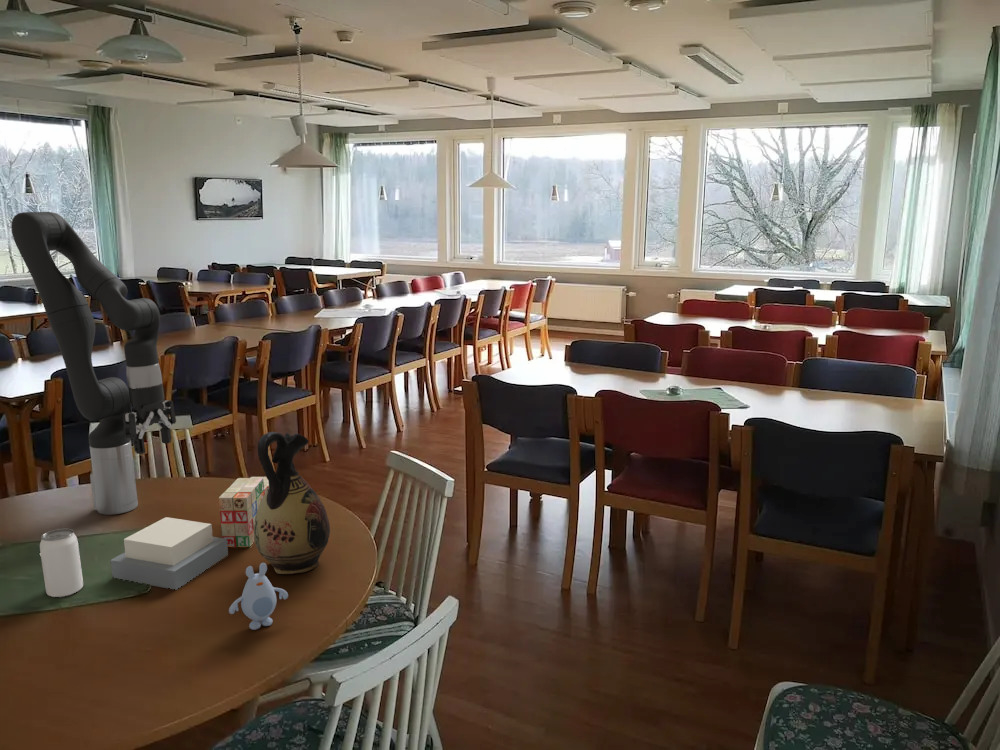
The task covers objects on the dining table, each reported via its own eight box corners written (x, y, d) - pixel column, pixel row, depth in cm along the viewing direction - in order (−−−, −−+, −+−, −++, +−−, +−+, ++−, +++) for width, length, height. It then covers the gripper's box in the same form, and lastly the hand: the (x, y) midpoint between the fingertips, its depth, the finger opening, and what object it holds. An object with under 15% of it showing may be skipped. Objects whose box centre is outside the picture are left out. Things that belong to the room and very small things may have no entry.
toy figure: (235, 642, 134) (230, 579, 132) (226, 626, 139) (221, 565, 137) (295, 624, 140) (291, 563, 137) (284, 609, 145) (280, 551, 142)
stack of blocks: (254, 511, 192) (250, 464, 190) (279, 511, 192) (275, 464, 189) (222, 548, 171) (218, 496, 169) (250, 548, 171) (246, 496, 169)
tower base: (112, 578, 158) (108, 541, 156) (168, 545, 172) (165, 512, 171) (176, 590, 153) (172, 552, 151) (228, 555, 167) (225, 521, 166)
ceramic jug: (294, 543, 173) (285, 415, 167) (346, 558, 166) (339, 425, 159) (234, 574, 159) (222, 435, 153) (288, 592, 152) (279, 447, 145)
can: (88, 589, 153) (81, 533, 150) (52, 601, 148) (44, 544, 146) (76, 579, 157) (69, 524, 155) (41, 590, 153) (33, 534, 150)
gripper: (154, 376, 191) (162, 439, 194) (109, 389, 178) (118, 456, 181) (179, 377, 188) (186, 440, 192) (135, 390, 175) (144, 458, 179)
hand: (153, 448), depth 186 cm, fingers open, 8 cm apart
